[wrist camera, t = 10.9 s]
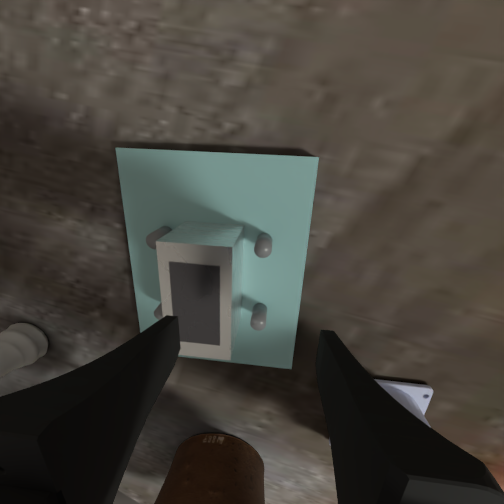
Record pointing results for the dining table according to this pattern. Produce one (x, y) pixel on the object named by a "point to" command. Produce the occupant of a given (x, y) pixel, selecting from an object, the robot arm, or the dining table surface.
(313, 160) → the pin tray
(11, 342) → the rook chess piece
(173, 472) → the pitcher
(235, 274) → the block
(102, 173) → the dining table surface
